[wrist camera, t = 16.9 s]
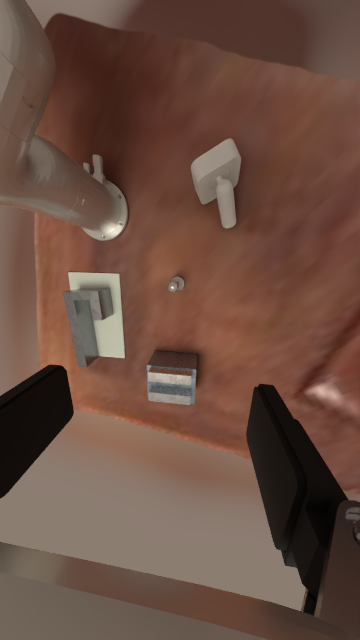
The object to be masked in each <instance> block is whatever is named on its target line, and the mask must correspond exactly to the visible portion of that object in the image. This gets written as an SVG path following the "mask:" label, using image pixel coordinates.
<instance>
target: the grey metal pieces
mask: <svg viewBox="0 0 360 640" xmlns="http://www.w3.org/2000/svg"><path fill="white" fill-rule="evenodd" d="M183 288H184V280H183V279H182V278H181V277H174V278H172V279H171V281H170V283H169V285H168V290H169V291H170V292H175V291H181V290H182V289H183ZM196 366H197V354H192V353H179V352H167V351H155V352H154V353H153V355H152V357H151V359H150V361H149V362H148V364H147V386H148V399H149V401H157V402H166V403H176V404H185V405H190V404H194V400H195V383H196Z"/></svg>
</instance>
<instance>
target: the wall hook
mask: <svg viewBox="0 0 360 640" xmlns="http://www.w3.org/2000/svg"><path fill="white" fill-rule="evenodd" d="M240 165H241V157H240V155H239V152H238V150H237V148H236V146H235V143H234V141H233V139H227V140H225V141H223V142H222V143H220V144H219V145H217V146H215V147H214V148H212V149H211V150H209V151H208V152H206V153H204V154H203V155H201V156H200V157H198V158H197V159H195V160H194V162H193V163H192V165H191V172H192V177H193V182H194V187H195V190H196V193H197V195H198V197H199V199H200V202H201V204H207V203H209V202H210V201H212V200H214V199H216V198H217V201H218V206H219V211H220V217H221V222H222V226H223V227H224V228H231V227H233V226H234V225H235V224H236V212H235V202H234V191H233V188H234V187H235V186H236V185H237V183H238V179H239V172H240Z"/></svg>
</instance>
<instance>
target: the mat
mask: <svg viewBox="0 0 360 640" xmlns="http://www.w3.org/2000/svg"><path fill="white" fill-rule="evenodd" d="M68 275H69V282H70V288H71V290H75V289H102V288H110V289H111V297H112V304H113V312H114V314H113V315H111V316H110V317H108V318H106V319H104V320H93V323H94V329H95V335H96V341H97V347H98V353H99V356H106V357H117V358H125V344H124V329H123V315H122V300H121V285H120V274H112V273H83V272H68Z"/></svg>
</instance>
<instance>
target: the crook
mask: <svg viewBox="0 0 360 640" xmlns="http://www.w3.org/2000/svg"><path fill="white" fill-rule="evenodd" d="M63 295H64V300H65V304H66V309H67V314H68V319H69V324H70V328H71V333H72V338H73V343H74V348H75V352H76V357H77V362H78V367H87V366H89V365H90V364H91V363H92V362H93V361H94V360H95V359H97V358H98V357H99V353H98V347H97V341H96V335H95V329H94V323H93V320H104V319H106V318H108V317H110V316H111V315H113V314H114V312H113V304H112V297H111V289H110V288H102V289H75V290H70V291H64V292H63Z"/></svg>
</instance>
